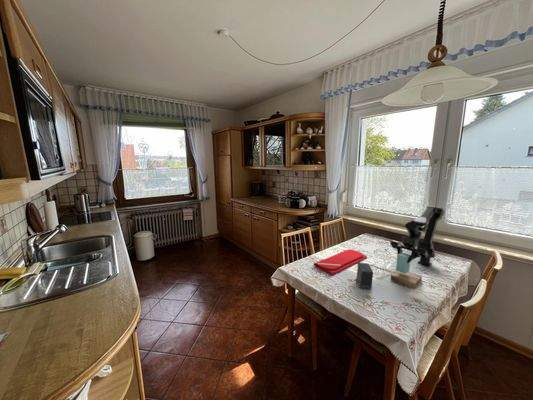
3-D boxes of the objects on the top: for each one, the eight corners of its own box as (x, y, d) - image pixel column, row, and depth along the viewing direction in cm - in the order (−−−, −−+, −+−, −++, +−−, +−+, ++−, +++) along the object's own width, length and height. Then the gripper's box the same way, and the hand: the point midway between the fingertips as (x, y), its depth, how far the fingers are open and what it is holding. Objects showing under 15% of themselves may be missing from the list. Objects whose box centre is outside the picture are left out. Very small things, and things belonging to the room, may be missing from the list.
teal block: (399, 267, 134) (401, 252, 132) (409, 271, 130) (410, 255, 128) (395, 270, 131) (397, 254, 129) (405, 273, 127) (406, 257, 125)
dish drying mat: (367, 258, 159) (368, 253, 158) (332, 277, 135) (332, 271, 134) (348, 251, 172) (348, 246, 171) (312, 267, 147) (312, 262, 147)
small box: (372, 289, 121) (374, 272, 119) (359, 288, 122) (361, 271, 120) (367, 279, 131) (369, 263, 129) (356, 278, 132) (357, 262, 130)
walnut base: (398, 273, 138) (399, 268, 137) (421, 281, 129) (421, 276, 128) (390, 279, 130) (391, 275, 130) (413, 288, 121) (414, 283, 121)
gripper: (393, 227, 136) (382, 248, 131) (428, 236, 121) (417, 260, 116) (398, 237, 142) (387, 257, 137) (432, 246, 126) (422, 269, 122)
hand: (402, 260), depth 128 cm, fingers closed on teal block, 5 cm apart
